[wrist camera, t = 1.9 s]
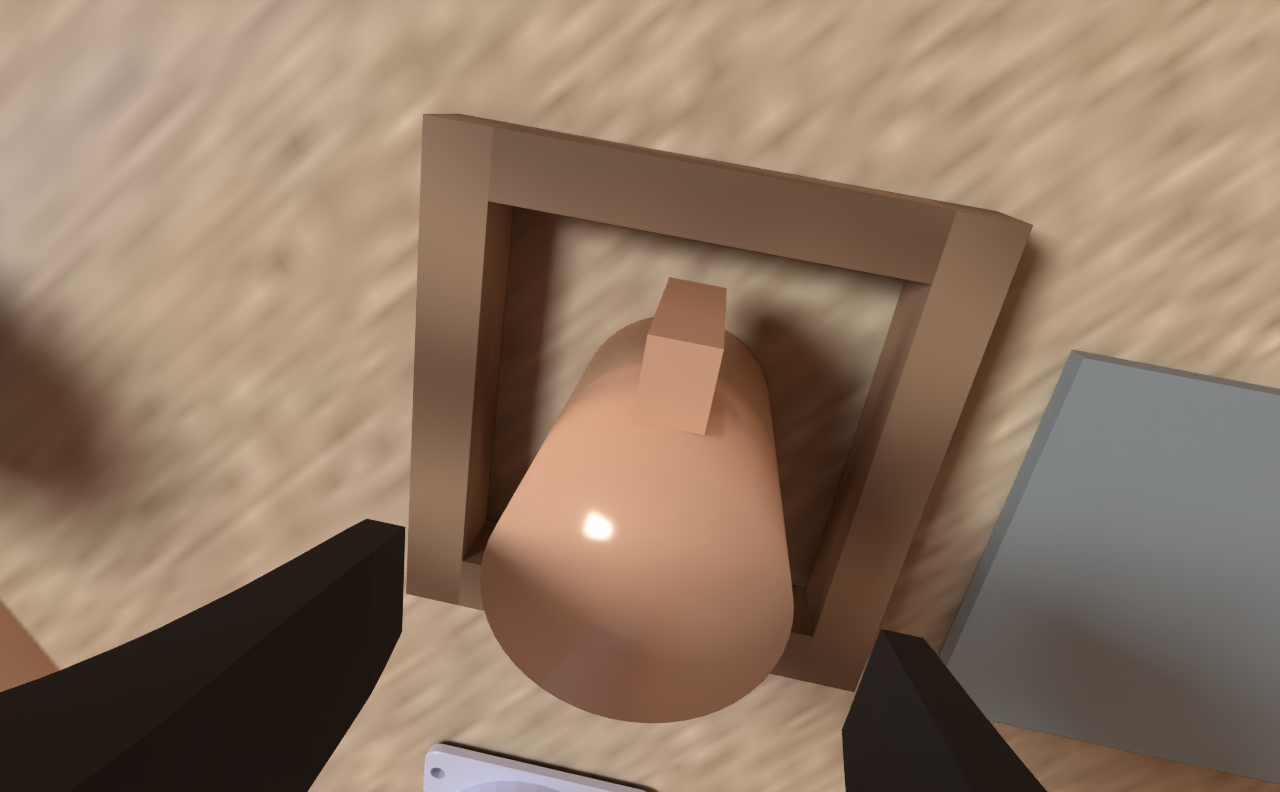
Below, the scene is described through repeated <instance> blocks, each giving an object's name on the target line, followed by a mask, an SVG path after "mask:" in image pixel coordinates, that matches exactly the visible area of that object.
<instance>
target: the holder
mask: <svg viewBox="0 0 1280 792" xmlns="http://www.w3.org/2000/svg"><path fill="white" fill-rule="evenodd" d="M514 206H517V207H522V208H527V209H533V210H538V211H543V212H549V213H554V214H559V215H565V216H570V217H575V218H581V219H586V220H591V221H597V222H602V223H607V224H613V225H618V226H623V227H629V228H634V229H639V230H645V231H650V232H655V233H661V234H666V235H671V236H677V237H682V238H687V239H693V240H698V241H703V242H709V243H714V244H719V245H725V246H730V247H735V248H741V249H746V250H751V251H757V252H762V253H767V254H773V255H778V256H783V257H788V258H794V259H799V260H804V261H810V262H815V263H820V264H826V265H831V266H836V267H842V268H847V269H852V270H858V271H863V272H868V273H874V274H879V275H884V276H890V277H895V278H900V279H905V281H904V284H903V287H902V291H901V294H900V297H899V300H898V303H897V306H896V309H895V312H894V316H893V319H892V322H891V325H890V328H889V331H888V334H887V337H886V341H885V344H884V347H883V350H882V353H881V356H880V359H879V362H878V365H877V369H876V372H875V375H874V378H873V381H872V384H871V387H870V390H869V394H868V397H867V400H866V403H865V406H864V409H863V412H862V415H861V419H860V422H859V425H858V428H857V431H856V434H855V437H854V440H853V444H852V447H851V450H850V453H849V456H848V459H847V462H846V465H845V469H844V472H843V475H842V478H841V481H840V484H839V487H838V490H837V494H836V497H835V500H834V503H833V506H832V509H831V512H830V515H829V519H828V522H827V525H826V528H825V531H824V534H823V537H822V540H821V544H820V547H819V550H818V553H817V556H816V559H815V562H814V565H813V569H812V572H811V575H810V578H809V581H808V584H807V587H806V588H801V587H796V586H792V592H793V602H794V610H793V623H792V628H791V632H790V636H789V640H788V642H787V645H786V647H785V649H784V652H783V654H782V656H781V657H780V659H779V661H778V662H777V664H776V666H775V667H774V669H773V670H772V671H771V672H770V674H775V675H779V676H784V677H788V678H793V679H797V680H802V681H806V682H811V683H816V684H820V685H825V686H829V687H834V688H838V689H843V690H847V691H852V692H855V689H856V686H857V684H858V681H859V679H860V676H861V673H862V671H863V668H864V666H865V663H866V660H867V658H868V655H869V652H870V650H871V647H872V645H873V642H874V639H875V637H876V634H877V632H878V629H879V626H880V624H881V621H882V619H883V616H884V613H885V611H886V608H887V605H888V603H889V600H890V598H891V595H892V592H893V590H894V587H895V585H896V582H897V579H898V577H899V574H900V572H901V569H902V566H903V564H904V561H905V558H906V556H907V553H908V551H909V548H910V545H911V543H912V540H913V538H914V535H915V532H916V530H917V527H918V524H919V522H920V519H921V517H922V514H923V511H924V509H925V506H926V504H927V501H928V498H929V496H930V493H931V491H932V488H933V485H934V483H935V480H936V477H937V475H938V472H939V470H940V467H941V464H942V462H943V459H944V457H945V454H946V451H947V449H948V446H949V444H950V441H951V438H952V436H953V433H954V430H955V428H956V425H957V423H958V420H959V417H960V415H961V412H962V410H963V407H964V404H965V402H966V399H967V396H968V394H969V391H970V389H971V386H972V383H973V381H974V378H975V376H976V373H977V370H978V368H979V365H980V363H981V360H982V357H983V355H984V352H985V349H986V347H987V344H988V342H989V339H990V336H991V334H992V331H993V329H994V326H995V323H996V321H997V318H998V316H999V313H1000V310H1001V308H1002V305H1003V302H1004V300H1005V297H1006V295H1007V292H1008V289H1009V287H1010V284H1011V282H1012V279H1013V276H1014V274H1015V271H1016V268H1017V266H1018V263H1019V261H1020V258H1021V255H1022V253H1023V250H1024V248H1025V245H1026V242H1027V240H1028V237H1029V235H1030V232H1031V229H1032V227H1033V225H1031V224H1029V223H1026V222H1024V221H1021V220H1018V219H1016V218H1013V217H1011V216H1008V215H1005V214H1003V213H1000V212H997V211H992V210H986V209H981V208H975V207H970V206H964V205H959V204H953V203H948V202H942V201H937V200H931V199H926V198H920V197H915V196H909V195H903V194H898V193H892V192H887V191H881V190H876V189H870V188H865V187H859V186H854V185H848V184H843V183H837V182H832V181H826V180H821V179H815V178H810V177H804V176H799V175H793V174H788V173H782V172H777V171H771V170H766V169H760V168H755V167H749V166H744V165H738V164H733V163H727V162H721V161H716V160H710V159H705V158H699V157H694V156H688V155H683V154H677V153H672V152H666V151H661V150H655V149H650V148H644V147H639V146H633V145H628V144H622V143H617V142H611V141H606V140H600V139H595V138H589V137H584V136H578V135H573V134H567V133H562V132H556V131H550V130H545V129H539V128H534V127H528V126H523V125H517V124H512V123H506V122H501V121H495V120H490V119H484V118H479V117H473V116H468V115H462V114H423V131H422V159H421V188H420V217H419V245H418V274H417V302H416V331H415V360H414V388H413V417H412V445H411V474H410V503H409V531H408V560H407V588H406V594H410V595H415V596H419V597H424V598H428V599H433V600H438V601H442V602H447V603H451V604H456V605H460V606H465V607H469V608H474V609H479V610H483V611H485V610H484V607H483V602H482V596H481V589H480V573H481V566H482V560H483V555H484V552H485V549H486V546H487V543H488V540H489V538H490V536H491V534H492V532H493V530H494V529H495V527H496V525H497V523H495V522H490V521H486V517H487V505H488V494H489V482H490V471H491V460H492V448H493V437H494V425H495V414H496V403H497V391H498V380H499V368H500V357H501V345H502V334H503V323H504V311H505V300H506V288H507V277H508V266H509V254H510V243H511V231H512V220H513V208H514Z"/></svg>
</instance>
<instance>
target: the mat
mask: <svg viewBox="0 0 1280 792" xmlns="http://www.w3.org/2000/svg"><path fill="white" fill-rule="evenodd" d="M939 658H940V659H941V661H942V662H943V663H944V664H945V666H946V667H947V668H948V669H949V671H950V672H951V673H952V675H953V676H954V677H955V678H956V680H957V681H958V682H959V683H960V685H961V686H962V687H963V689H964V690H965V691H966V692H967V694H968V695H969V696H970V697H971V699H972V700H973V701H974V703H975V704H976V705H977V706H978V708H979V709H980V710H981V711H982V713H983V714H984V715H985V717H986V718H987V719H988V720H989V721H993V722H998V723H1002V724H1007V725H1011V726H1016V727H1021V728H1025V729H1030V730H1034V731H1039V732H1043V733H1048V734H1052V735H1057V736H1062V737H1066V738H1071V739H1075V740H1080V741H1084V742H1089V743H1093V744H1098V745H1103V746H1107V747H1112V748H1116V749H1121V750H1125V751H1130V752H1134V753H1139V754H1144V755H1148V756H1153V757H1157V758H1162V759H1166V760H1171V761H1175V762H1180V763H1185V764H1189V765H1194V766H1198V767H1203V768H1207V769H1212V770H1216V771H1221V772H1226V773H1230V774H1235V775H1239V776H1244V777H1248V778H1253V779H1257V780H1262V781H1267V782H1271V783H1276V784H1280V389H1276V388H1270V387H1265V386H1260V385H1255V384H1249V383H1244V382H1239V381H1234V380H1228V379H1223V378H1218V377H1213V376H1207V375H1202V374H1197V373H1192V372H1186V371H1181V370H1176V369H1171V368H1165V367H1160V366H1155V365H1150V364H1144V363H1139V362H1134V361H1129V360H1123V359H1118V358H1113V357H1108V356H1102V355H1097V354H1092V353H1087V352H1081V351H1076V350H1072V351H1071V354H1070V356H1069V358H1068V361H1067V363H1066V365H1065V367H1064V370H1063V372H1062V374H1061V377H1060V379H1059V381H1058V384H1057V386H1056V388H1055V390H1054V393H1053V395H1052V397H1051V400H1050V402H1049V404H1048V407H1047V409H1046V411H1045V413H1044V416H1043V418H1042V420H1041V423H1040V425H1039V427H1038V429H1037V432H1036V434H1035V436H1034V439H1033V441H1032V443H1031V446H1030V448H1029V450H1028V452H1027V455H1026V457H1025V459H1024V462H1023V464H1022V466H1021V468H1020V471H1019V473H1018V475H1017V478H1016V480H1015V482H1014V485H1013V487H1012V489H1011V491H1010V494H1009V496H1008V498H1007V501H1006V503H1005V505H1004V507H1003V510H1002V512H1001V514H1000V517H999V519H998V521H997V524H996V526H995V528H994V530H993V533H992V535H991V537H990V540H989V542H988V544H987V546H986V549H985V551H984V553H983V556H982V558H981V560H980V563H979V565H978V567H977V569H976V572H975V574H974V576H973V579H972V581H971V583H970V585H969V588H968V590H967V592H966V595H965V597H964V599H963V602H962V604H961V606H960V608H959V611H958V613H957V615H956V618H955V620H954V622H953V625H952V627H951V629H950V631H949V634H948V636H947V638H946V641H945V643H944V645H943V647H942V650H941V652H940V654H939Z"/></svg>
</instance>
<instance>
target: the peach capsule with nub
mask: <svg viewBox="0 0 1280 792" xmlns="http://www.w3.org/2000/svg"><path fill="white" fill-rule="evenodd" d="M726 290H727V288H723V287H718V286H713V285H707V284H702V283H697V282H692V281H686V280H681V279H676V278H671V277H670V278H669V280H668V283H667V285H666V288H665V291H664V293H663V296H662V298H661V301H660V303H659V306H658V309H657V311H656V314H655V316H654V317H651V318H647V319H644V320H640V321H638V322H635V323H633V324H630V325H628V326H626V327H625V328H623V329H621V330H619V331H618V332H616V333H615V334H614V335H613V336H611V337H610V338H609V339H608V340H607V341H606V342H605V343H604V344H603V345H602V346H601V347H600V348H599V349H598V351H597V352H596V353H595V355H594V356H593V358H592V359H591V361H590V363H589V365H588V366H587V368H586V370H585V372H584V373H583V375H582V377H581V379H580V380H579V382H578V384H577V386H576V387H575V389H574V391H573V392H572V394H571V396H570V398H569V399H568V401H567V403H566V405H565V406H564V408H563V410H562V412H561V413H560V415H559V417H558V419H557V420H556V422H555V424H554V426H553V427H552V429H551V431H550V433H549V434H548V436H547V438H546V439H545V441H544V443H543V445H542V446H541V448H540V450H539V452H538V453H537V455H536V457H535V459H534V460H533V462H532V464H531V466H530V467H529V469H528V471H527V473H526V474H525V476H524V478H523V480H522V481H521V483H520V485H519V486H518V488H517V490H516V492H515V493H514V495H513V497H512V499H511V500H510V502H509V504H508V506H507V507H506V509H505V511H504V513H503V514H502V516H501V518H500V520H499V521H498V523H497V525H496V527H495V529H494V530H493V532H492V534H491V536H490V538H489V540H488V543H487V546H486V549H485V552H484V555H483V560H482V566H481V573H480V589H481V596H482V602H483V607H484V610H485V613H486V617H487V620H488V622H489V625H490V627H491V629H492V631H493V633H494V636H495V637H496V639H497V640H498V642H499V644H500V645H501V647H502V648H503V650H504V651H505V653H506V654H507V655H508V656H509V658H510V659H511V660H512V661H513V663H514V664H515V665H516V666H517V667H518V668H519V669H520V670H521V671H522V672H523V673H524V674H525V675H526V676H527V677H528V678H530V679H531V680H532V681H534V682H535V683H536V684H537V685H539V686H540V687H541V688H542V689H544V690H546V691H547V692H549V693H550V694H552V695H553V696H555V697H557V698H558V699H560V700H562V701H564V702H566V703H568V704H570V705H572V706H574V707H577V708H579V709H582V710H585V711H587V712H590V713H593V714H596V715H600V716H604V717H607V718H611V719H617V720H622V721H628V722H640V723H668V722H676V721H684V720H689V719H693V718H697V717H701V716H705V715H708V714H710V713H713V712H716V711H719V710H721V709H723V708H725V707H727V706H729V705H731V704H733V703H735V702H737V701H738V700H740V699H741V698H743V697H744V696H746V695H747V694H749V693H750V692H751V691H752V690H754V689H755V688H756V687H757V686H758V685H759V684H760V683H761V682H763V681H764V679H765V678H766V677H767V676H768V675H769V673H770V672H771V671H772V670H773V669H774V667H775V666H776V664H777V662H778V661H779V659H780V657H781V656H782V654H783V652H784V649H785V647H786V645H787V642H788V640H789V636H790V632H791V628H792V623H793V610H794V602H793V592H792V583H791V575H790V566H789V558H788V550H787V542H786V533H785V525H784V517H783V508H782V500H781V492H780V484H779V475H778V467H777V459H776V450H775V442H774V434H773V425H772V417H771V409H770V401H769V392H768V388H767V384H766V380H765V377H764V375H763V373H762V370H761V368H760V366H759V365H758V363H757V361H756V359H755V358H754V356H753V355H752V354H751V353H750V351H749V350H748V349H747V348H746V347H745V346H744V345H743V344H742V343H741V342H740V341H739V340H738V339H737V338H735V337H734V336H733V335H731V334H730V333H729V332H727V331H726V330H725V312H726Z"/></svg>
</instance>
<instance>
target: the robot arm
mask: <svg viewBox="0 0 1280 792" xmlns="http://www.w3.org/2000/svg"><path fill="white" fill-rule="evenodd" d="M404 552H405V527H403V526H398V525H394V524H389V523H384V522H380V521H375V520H370V519H365V520H363V521H362V522H360V523H358V524H356V525H354V526H352V527H350V528H348V529H346V530H345V531H343V532H341V533H339V534H337V535H335V536H334V537H332V538H330V539H328V540H327V541H325V542H323V543H321V544H319V545H318V546H316V547H314V548H312V549H311V550H309V551H307V552H305V553H303V554H302V555H300V556H298V557H296V558H294V559H293V560H291V561H289V562H287V563H285V564H283V565H282V566H280V567H278V568H276V569H274V570H272V571H271V572H269V573H267V574H265V575H263V576H261V577H260V578H258V579H256V580H254V581H252V582H250V583H248V584H247V585H245V586H243V587H241V588H239V589H237V590H235V591H233V592H231V593H229V594H227V595H225V596H223V597H221V598H219V599H217V600H215V601H213V602H211V603H209V604H207V605H205V606H203V607H201V608H199V609H197V610H195V611H193V612H191V613H189V614H187V615H185V616H183V617H181V618H179V619H177V620H175V621H173V622H171V623H169V624H167V625H165V626H163V627H161V628H158V629H156V630H154V631H152V632H150V633H147V634H145V635H143V636H141V637H139V638H136V639H134V640H132V641H130V642H127V643H125V644H123V645H120V646H118V647H116V648H114V649H111V650H109V651H106V652H104V653H102V654H99V655H97V656H94V657H92V658H89V659H87V660H85V661H82V662H80V663H77V664H75V665H72V666H70V667H68V668H65V669H63V670H60V671H58V672H55V673H52V674H50V675H47V676H45V677H42V678H40V679H37V680H34V681H31V682H28V683H25V684H23V685H20V686H17V687H14V688H11V689H9V690H6V691H3V692H0V792H308V790H309V789H310V787H311V785H312V784H313V782H314V781H315V779H316V778H317V776H318V775H319V773H320V772H321V770H322V769H323V767H324V766H325V764H326V763H327V761H328V760H329V758H330V757H331V755H332V754H333V752H334V751H335V749H336V748H337V746H338V745H339V743H340V741H341V740H342V738H343V737H344V735H345V734H346V732H347V731H348V729H349V728H350V726H351V725H352V723H353V721H354V720H355V718H356V717H357V715H358V714H359V712H360V711H361V709H362V708H363V706H364V704H365V703H366V701H367V700H368V698H369V697H370V695H371V693H372V691H373V689H374V688H375V686H376V684H377V682H378V680H379V678H380V676H381V674H382V672H383V670H384V668H385V666H386V664H387V662H388V660H389V658H390V656H391V654H392V652H393V649H394V647H395V645H396V643H397V641H398V639H399V637H400V635H401V633H402V616H403V584H404ZM842 739H843V757H844V773H845V786H846V792H1047V791H1046V790H1045V788H1044V787H1043V786H1042V785H1041V784H1040V783H1039V781H1038V780H1037V779H1036V778H1035V777H1034V775H1033V774H1032V773H1031V772H1030V771H1029V769H1028V768H1027V767H1026V766H1025V765H1024V763H1023V762H1022V761H1021V760H1020V759H1019V757H1018V756H1017V755H1016V754H1015V753H1014V751H1013V750H1012V749H1011V748H1010V746H1009V745H1008V744H1007V743H1006V741H1005V740H1004V739H1003V738H1002V737H1001V735H1000V734H999V733H998V732H997V730H996V729H995V728H994V727H993V725H992V724H991V723H990V722H989V720H988V719H987V718H986V717H985V715H984V714H983V713H982V711H981V710H980V709H979V708H978V706H977V705H976V704H975V703H974V701H973V700H972V699H971V697H970V696H969V695H968V694H967V692H966V691H965V690H964V689H963V687H962V686H961V685H960V683H959V682H958V681H957V680H956V678H955V677H954V676H953V675H952V673H951V672H950V671H949V669H948V668H947V667H946V666H945V664H944V663H943V662H942V661H941V659H940V658H939V657H938V656H937V654H936V653H935V652H934V651H933V649H932V648H931V647H930V646H929V645H928V643H927V642H926V641H925V640H924V639H923V638H920V637H915V636H911V635H906V634H901V633H897V632H892V631H887V630H883V629H881V630H880V633H879V636H878V638H877V641H876V643H875V646H874V648H873V651H872V654H871V656H870V659H869V661H868V664H867V667H866V669H865V672H864V674H863V677H862V680H861V682H860V685H859V687H858V690H857V692H856V695H855V698H854V700H853V703H852V705H851V708H850V711H849V713H848V716H847V718H846V721H845V723H844V726H843V729H842ZM423 792H646V791H644V790H641V789H636V788H632V787H628V786H623V785H619V784H615V783H610V782H606V781H602V780H597V779H593V778H589V777H584V776H580V775H576V774H571V773H567V772H563V771H558V770H554V769H550V768H545V767H541V766H537V765H532V764H528V763H524V762H519V761H515V760H511V759H506V758H502V757H498V756H493V755H489V754H485V753H480V752H476V751H471V750H467V749H463V748H458V747H454V746H450V745H445V744H435V745H432V746H431V747H430V748H429V750H428V752H427V754H426V757H425V767H424V785H423Z"/></svg>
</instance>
